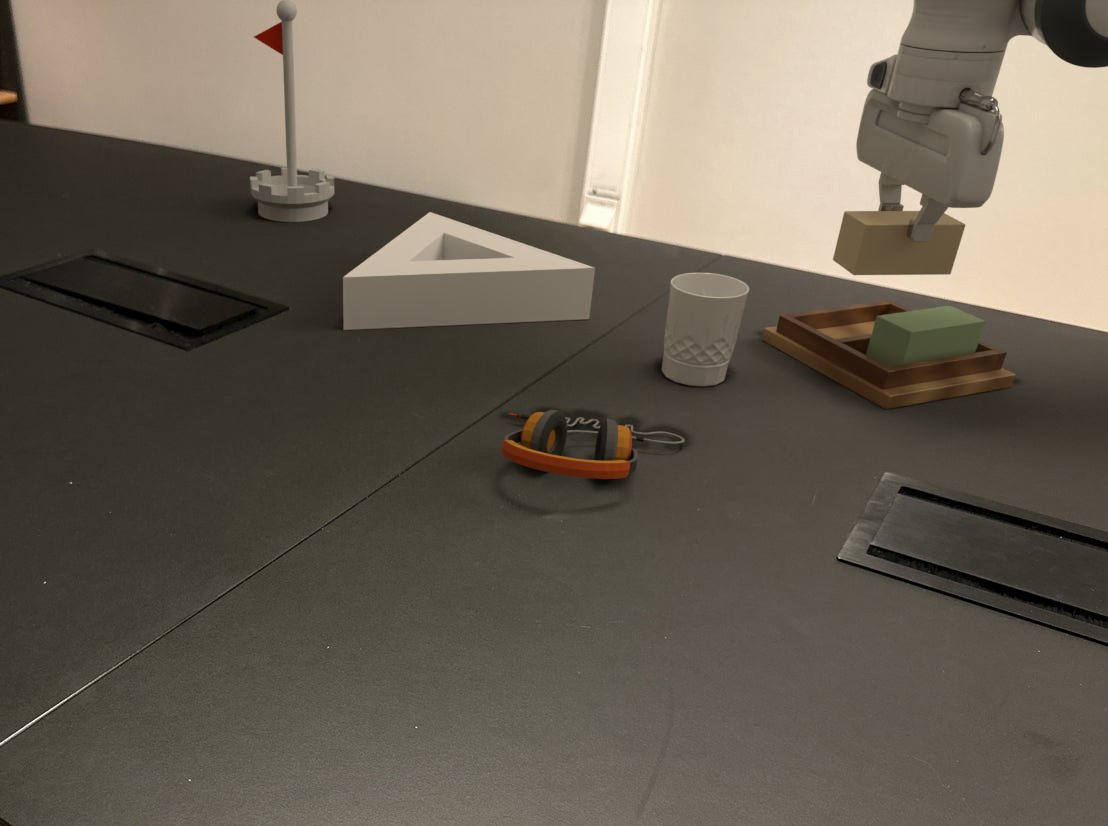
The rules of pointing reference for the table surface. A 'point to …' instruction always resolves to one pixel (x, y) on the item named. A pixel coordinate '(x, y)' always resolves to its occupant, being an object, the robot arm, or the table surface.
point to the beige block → (895, 244)
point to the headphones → (548, 439)
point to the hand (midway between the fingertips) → (901, 230)
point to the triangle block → (462, 281)
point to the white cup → (702, 327)
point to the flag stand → (289, 146)
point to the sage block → (923, 335)
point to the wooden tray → (840, 354)
